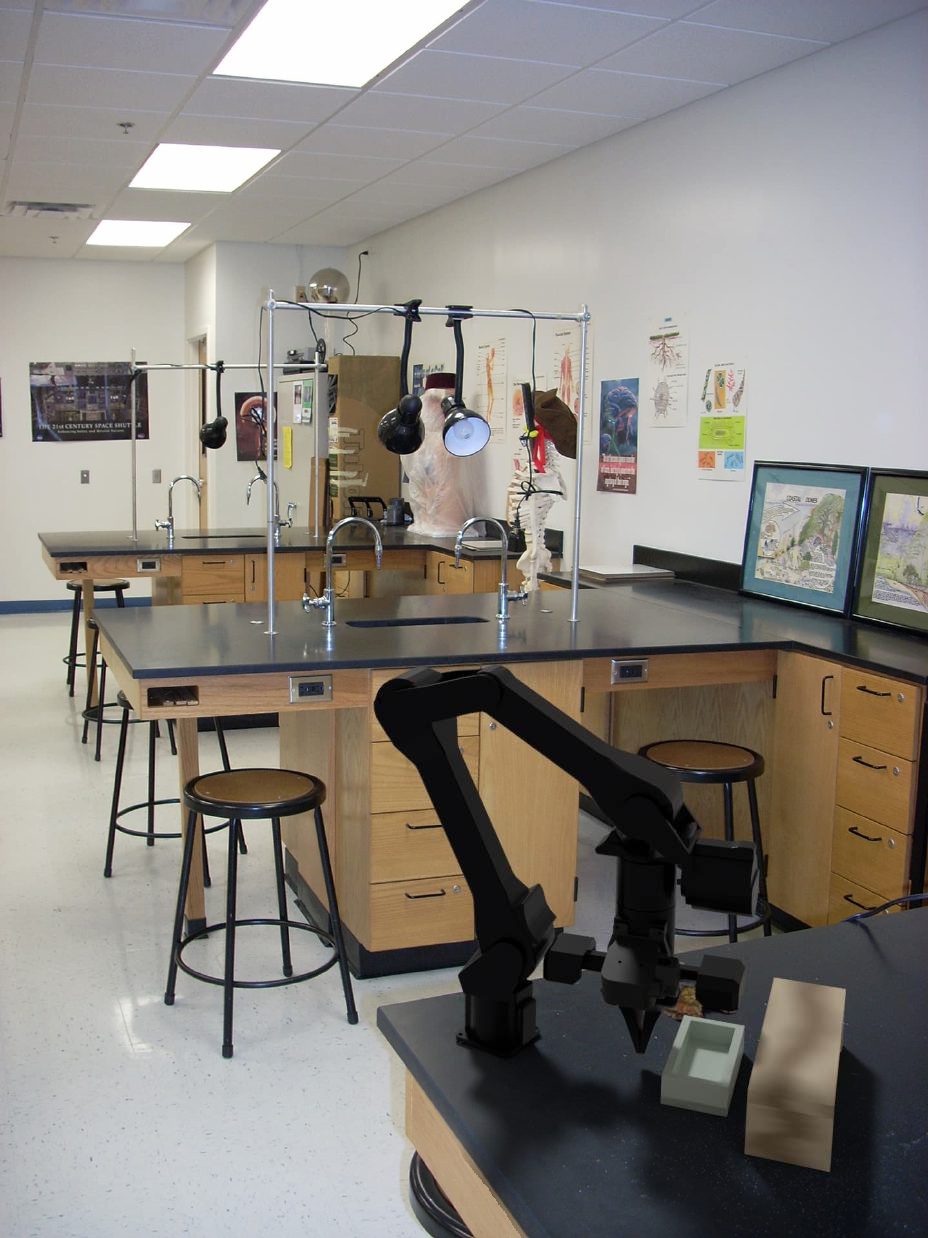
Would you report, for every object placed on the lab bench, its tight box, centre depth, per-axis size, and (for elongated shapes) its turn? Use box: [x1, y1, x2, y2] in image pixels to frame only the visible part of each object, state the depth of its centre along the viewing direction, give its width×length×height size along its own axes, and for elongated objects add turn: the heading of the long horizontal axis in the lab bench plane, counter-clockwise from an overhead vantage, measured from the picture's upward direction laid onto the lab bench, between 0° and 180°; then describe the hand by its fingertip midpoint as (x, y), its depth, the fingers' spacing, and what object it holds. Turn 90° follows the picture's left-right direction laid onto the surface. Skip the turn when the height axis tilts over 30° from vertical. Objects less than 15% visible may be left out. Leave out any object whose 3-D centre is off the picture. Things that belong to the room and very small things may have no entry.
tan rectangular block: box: [744, 977, 847, 1173], centre depth 110 cm, size 7×22×6 cm, turn 160°
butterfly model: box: [662, 986, 737, 1021], centre depth 128 cm, size 9×12×3 cm
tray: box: [660, 1015, 746, 1118], centre depth 113 cm, size 6×12×3 cm, turn 160°
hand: (641, 1052), depth 115 cm, fingers closed
